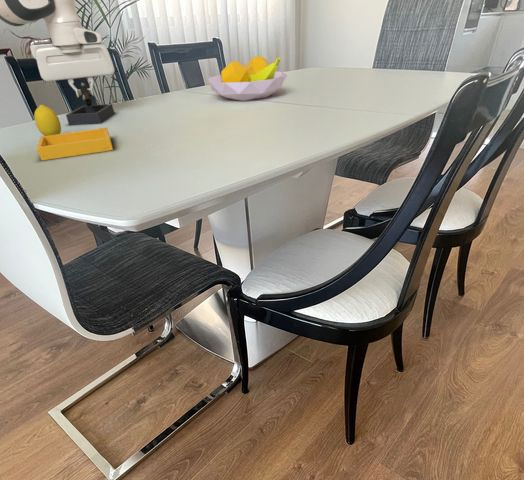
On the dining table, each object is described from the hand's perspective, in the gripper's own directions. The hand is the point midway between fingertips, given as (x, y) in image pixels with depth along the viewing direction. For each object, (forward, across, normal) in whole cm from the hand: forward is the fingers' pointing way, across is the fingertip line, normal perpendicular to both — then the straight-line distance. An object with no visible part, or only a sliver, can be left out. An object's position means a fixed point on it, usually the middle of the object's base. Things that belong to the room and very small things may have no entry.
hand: (85, 96), depth 114 cm
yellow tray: (+6, -4, -36) cm, 37 cm away
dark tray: (+6, 0, 0) cm, 6 cm away
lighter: (+2, 0, 0) cm, 2 cm away
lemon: (+6, -10, -23) cm, 26 cm away
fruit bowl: (+6, +52, +3) cm, 52 cm away
